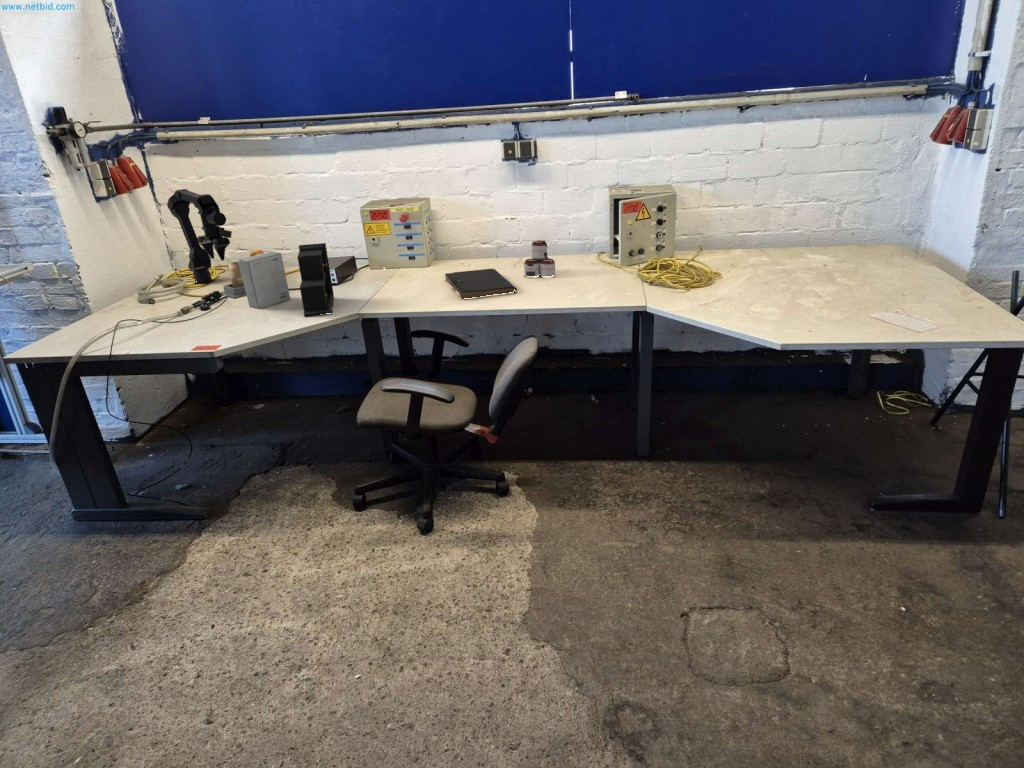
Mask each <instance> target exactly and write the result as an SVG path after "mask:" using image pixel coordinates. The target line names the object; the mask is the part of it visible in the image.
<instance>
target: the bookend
mask: <svg viewBox="0 0 1024 768" xmlns="http://www.w3.org/2000/svg"><path fill="white" fill-rule="evenodd" d="M327 250H328V249H327V243H326V242H323V243H322V242H321V243H310V244H299V245H298V251H299V252H298V254H297V261H298V266H299V268H298V269H299V273H300V279H301V283H300V285H299V291H300V296H301V301H302V306H303V317H304V318H308V316H310V317H315V316H314V315H320V314H326V313H332V314H333V310H332V307H333V308H334V303H333V301H334V300H335V295H334V288H333V281H332V276H331V269H330V263H329V262H330V261H329V257H328V251H327ZM320 316H321V315H320Z"/></svg>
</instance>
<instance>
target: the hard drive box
mask: <svg viewBox="0 0 1024 768" xmlns="http://www.w3.org/2000/svg"><path fill="white" fill-rule="evenodd" d="M237 262H239V265H240V270H241V274H242V278H243V282H244V286H245V291H246V298H247V302H248V306H249V307H250V308H254V309H258V310H259V309H262V308H267V307H269V306H272V305H277V304H279V303H282V302H287V301H290V300H291V295H290V290H289V286H288V280H287V275H286V271H285V266H284V261H283V255H282V253H280V252H276V251H268V252H264V253H263V254H258V255H254V256H251V257H250V256H248V257H244V258H243V257H242V258H240V259H239V258H238V260H237Z"/></svg>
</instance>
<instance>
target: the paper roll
mask: <svg viewBox="0 0 1024 768" xmlns="http://www.w3.org/2000/svg"><path fill="white" fill-rule="evenodd" d="M227 267H228V272H229V276H230V281H231V284H232V286H233V288H239V287H243V286H244V282H243V278H242V274H241V270H240V265H239V261H232V262H229V263H227Z"/></svg>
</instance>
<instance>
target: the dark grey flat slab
mask: <svg viewBox="0 0 1024 768" xmlns="http://www.w3.org/2000/svg"><path fill="white" fill-rule="evenodd" d="M444 276H445V281H446V280H447V281H446V282H448V283H449V284H450V285H451V286H452V287H453V288H454V289H453V288H452V289H453V291H454V290H455V291H457V292H458V293H459V295H460V296H459V295H458V296H459V298H460V297H461V299H464V298H472V297H480V296H486V295H493V294H502V293H509V292H513V291H514V289H515V290H516V291H517V292H518V288H517V287H516V286H515V285H513V284H512V283H511V282H510V281H509V280H508V279H507V278H506V277H504V276H503V275H502V274H501V273H500V272H499V271H498V270H496V269H495V268H483V269H476V270H475V269H474V270H465V271H454V272H447V273H444ZM448 283H447V284H448ZM449 284H448V285H449ZM450 285H449V286H450ZM455 291H454V292H455ZM461 299H460V300H461Z"/></svg>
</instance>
